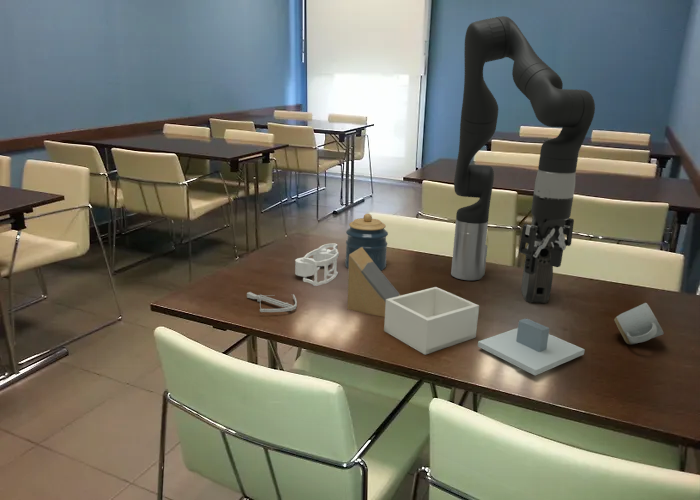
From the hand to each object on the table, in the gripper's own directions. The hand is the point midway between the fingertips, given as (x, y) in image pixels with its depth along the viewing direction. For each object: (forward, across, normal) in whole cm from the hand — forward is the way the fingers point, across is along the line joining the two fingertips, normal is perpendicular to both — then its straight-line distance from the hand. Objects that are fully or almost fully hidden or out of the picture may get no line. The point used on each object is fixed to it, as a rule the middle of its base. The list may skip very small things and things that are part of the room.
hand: (542, 269), depth 114 cm
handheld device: (+20, -28, -21) cm, 40 cm away
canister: (+20, -4, -65) cm, 68 cm away
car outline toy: (+20, +11, -67) cm, 71 cm away
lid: (+19, 0, 0) cm, 19 cm away
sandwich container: (+20, +13, -37) cm, 44 cm away
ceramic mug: (+20, -24, +11) cm, 33 cm away
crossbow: (+20, +35, -55) cm, 68 cm away
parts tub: (+20, +12, -19) cm, 30 cm away
